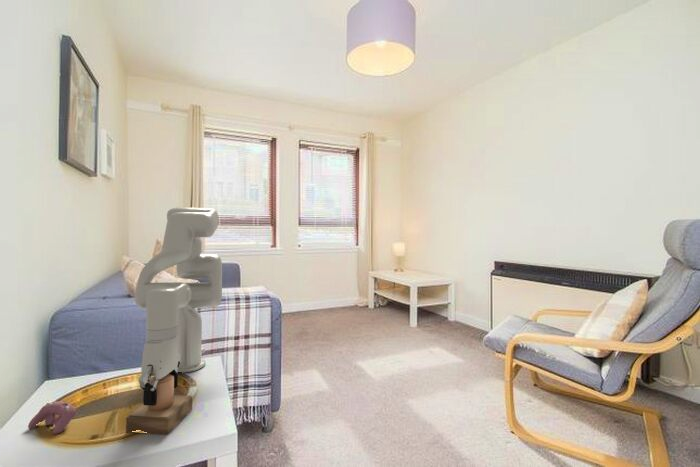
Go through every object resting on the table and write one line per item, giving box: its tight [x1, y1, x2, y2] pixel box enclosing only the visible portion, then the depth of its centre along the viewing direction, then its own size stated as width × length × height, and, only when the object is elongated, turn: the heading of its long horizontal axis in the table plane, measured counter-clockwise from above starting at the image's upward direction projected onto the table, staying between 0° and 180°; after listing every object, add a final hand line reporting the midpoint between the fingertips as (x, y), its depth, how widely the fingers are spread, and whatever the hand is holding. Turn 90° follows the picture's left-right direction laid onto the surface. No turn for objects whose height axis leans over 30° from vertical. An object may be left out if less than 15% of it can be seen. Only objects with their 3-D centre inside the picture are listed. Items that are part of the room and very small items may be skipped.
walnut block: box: [125, 394, 193, 436], centre depth 94 cm, size 12×11×4 cm
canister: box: [149, 374, 175, 411], centre depth 94 cm, size 6×6×7 cm
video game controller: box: [27, 400, 77, 435], centre depth 90 cm, size 10×5×7 cm, turn 76°
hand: (161, 395), depth 93 cm, fingers open, 9 cm apart
